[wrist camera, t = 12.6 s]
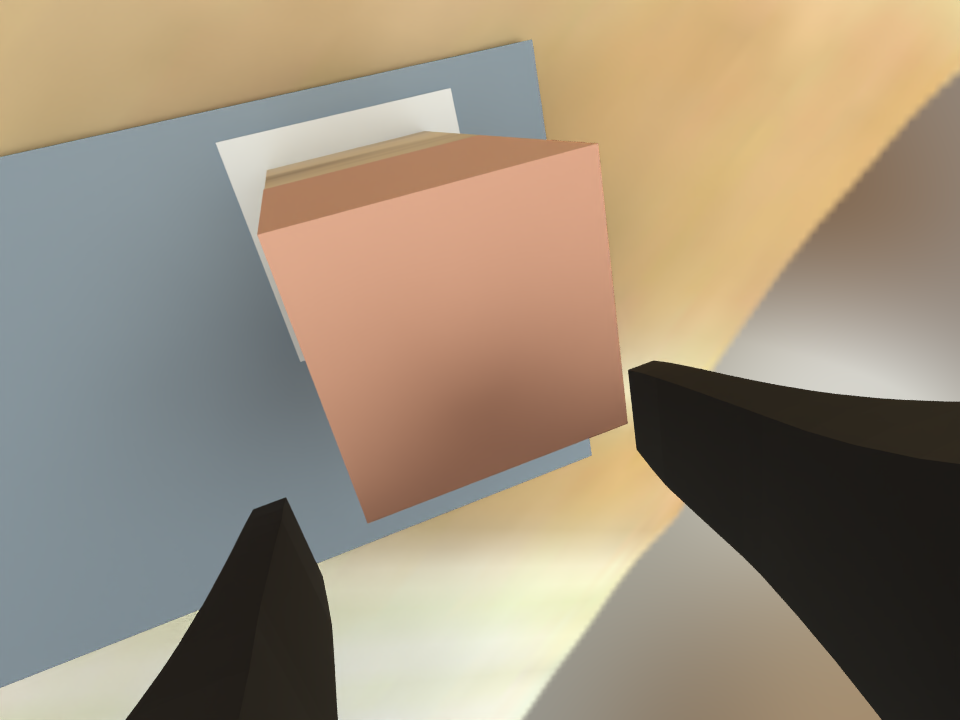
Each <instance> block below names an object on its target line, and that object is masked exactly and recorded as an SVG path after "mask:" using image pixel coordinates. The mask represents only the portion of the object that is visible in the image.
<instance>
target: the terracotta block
mask: <svg viewBox="0 0 960 720" xmlns="http://www.w3.org/2000/svg"><path fill="white" fill-rule="evenodd" d="M257 236H258V238H259V241H260V244H261V246H262V249H263V251H264V254H265V257H266V259H267V262H268V264H269V267H270V270H271V272H272V275H273V278H274V280H275V283H276V285H277V288H278V291H279V293H280V296H281V298H282V301H283V304H284V306H285V309H286V311H287V314H288V317H289V319H290V322H291V325H292V327H293V330H294V332H295V335H296V338H297V340H298V343H299V345H300V348H301V351H302V353H303V356H304V359H305V361H306V364H307V366H308V369H309V372H310V374H311V377H312V379H313V382H314V385H315V387H316V390H317V393H318V395H319V398H320V400H321V403H322V406H323V408H324V411H325V413H326V416H327V419H328V421H329V424H330V427H331V429H332V432H333V434H334V437H335V440H336V442H337V445H338V447H339V450H340V453H341V455H342V458H343V460H344V463H345V466H346V468H347V471H348V474H349V476H350V479H351V481H352V484H353V487H354V489H355V492H356V494H357V497H358V500H359V502H360V505H361V508H362V510H363V513H364V515H365V518H366V521H367V523H371V522H373V521H376V520H379V519H381V518H384V517H386V516H389V515H392V514H394V513H397V512H399V511H402V510H404V509H407V508H410V507H412V506H415V505H417V504H420V503H423V502H425V501H428V500H430V499H433V498H436V497H438V496H441V495H443V494H446V493H449V492H451V491H454V490H456V489H459V488H462V487H464V486H467V485H469V484H472V483H475V482H477V481H480V480H482V479H485V478H487V477H490V476H493V475H495V474H498V473H500V472H503V471H506V470H508V469H511V468H513V467H516V466H519V465H521V464H524V463H526V462H529V461H532V460H534V459H537V458H539V457H542V456H545V455H547V454H550V453H552V452H555V451H558V450H560V449H563V448H565V447H568V446H571V445H573V444H576V443H578V442H581V441H583V440H586V439H589V438H591V437H594V436H596V435H599V434H602V433H604V432H607V431H609V430H612V429H615V428H617V427H620V426H622V425H625V424H628V422H627V413H626V403H625V394H624V384H623V375H622V365H621V356H620V346H619V337H618V327H617V318H616V309H615V299H614V290H613V280H612V271H611V261H610V252H609V242H608V233H607V223H606V214H605V204H604V195H603V185H602V176H601V166H600V157H599V147H598V143H585V142H571V141H557V140H543V139H529V138H515V137H501V136H487V135H477V136H473V137H469V138H465V139H461V140H457V141H453V142H450V143H446V144H442V145H438V146H434V147H430V148H426V149H422V150H418V151H414V152H410V153H406V154H402V155H398V156H394V157H390V158H386V159H382V160H378V161H374V162H370V163H366V164H363V165H359V166H355V167H351V168H347V169H343V170H339V171H335V172H331V173H327V174H323V175H319V176H315V177H311V178H307V179H303V180H299V181H295V182H291V183H287V184H283V185H280V186H276V187H272V188H268V189H264V190H263V197H262V204H261V211H260V218H259V225H258V233H257Z"/></svg>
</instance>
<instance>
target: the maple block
mask: <svg viewBox="0 0 960 720" xmlns="http://www.w3.org/2000/svg"><path fill="white" fill-rule="evenodd" d="M473 136H477V135H473V134H459V133H445V132H431V131H423V132H419V133H415V134H411V135H407V136H403V137H399V138H395V139H391V140H387V141H383V142H379V143H375V144H370V145H366V146H362V147H358V148H354V149H350V150H346V151H342V152H338V153H334V154H330V155H326V156H322V157H318V158H314V159H310V160H306V161H302V162H298V163H294V164H290V165H286V166H282V167H278V168H274V169H270V170H267V173H266V181H265V189H268V188H272V187H276V186H280V185H283V184H287V183H291V182H295V181H299V180H303V179H307V178H311V177H315V176H319V175H323V174H327V173H331V172H335V171H339V170H343V169H347V168H351V167H355V166H359V165H363V164H366V163H370V162H374V161H378V160H382V159H386V158H390V157H394V156H398V155H402V154H406V153H410V152H414V151H418V150H422V149H426V148H430V147H434V146H438V145H442V144H446V143H450V142H453V141H457V140H461V139H465V138H469V137H473Z"/></svg>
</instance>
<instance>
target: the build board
mask: <svg viewBox="0 0 960 720" xmlns="http://www.w3.org/2000/svg"><path fill="white" fill-rule="evenodd" d="M423 131H431V132H445V133H459V134H473V135H487V136H501V137H515V138H529V139H543V140H546V133H545V126H544V119H543V112H542V105H541V98H540V91H539V84H538V78H537V71H536V64H535V57H534V50H533V43H532V40H528V41H523V42H519V43H514V44H510V45H505V46H501V47H496V48H491V49H487V50H482V51H478V52H473V53H469V54H464V55H460V56H455V57H451V58H446V59H442V60H437V61H433V62H428V63H424V64H419V65H415V66H410V67H406V68H401V69H397V70H392V71H387V72H383V73H378V74H374V75H369V76H365V77H360V78H356V79H351V80H347V81H342V82H338V83H333V84H329V85H324V86H320V87H315V88H311V89H306V90H302V91H297V92H293V93H288V94H283V95H279V96H274V97H270V98H265V99H261V100H256V101H252V102H247V103H243V104H238V105H234V106H229V107H225V108H220V109H216V110H211V111H207V112H202V113H198V114H193V115H189V116H184V117H179V118H175V119H170V120H166V121H161V122H157V123H152V124H148V125H143V126H139V127H134V128H130V129H125V130H121V131H116V132H112V133H107V134H103V135H98V136H94V137H89V138H85V139H80V140H75V141H71V142H66V143H62V144H57V145H53V146H48V147H44V148H39V149H35V150H30V151H26V152H21V153H17V154H12V155H8V156H3V157H0V688H1V687H4V686H6V685H9V684H11V683H14V682H16V681H19V680H22V679H24V678H27V677H29V676H32V675H34V674H37V673H39V672H42V671H44V670H47V669H50V668H52V667H55V666H57V665H60V664H62V663H65V662H67V661H70V660H72V659H75V658H78V657H80V656H83V655H85V654H88V653H90V652H93V651H95V650H98V649H100V648H103V647H105V646H108V645H111V644H113V643H116V642H118V641H121V640H123V639H126V638H128V637H131V636H133V635H136V634H139V633H141V632H144V631H146V630H149V629H151V628H154V627H156V626H159V625H161V624H164V623H167V622H169V621H172V620H174V619H177V618H179V617H182V616H184V615H187V614H189V613H192V612H195V611H197V610H200V608H201V607H202V605H203V603H204V602H205V600H206V598H207V596H208V594H209V592H210V591H211V589H212V587H213V585H214V583H215V581H216V579H217V578H218V576H219V574H220V572H221V570H222V568H223V566H224V565H225V563H226V561H227V559H228V557H229V555H230V553H231V551H232V549H233V547H234V545H235V543H236V541H237V539H238V537H239V535H240V533H241V531H242V529H243V527H244V525H245V523H246V521H247V520H248V518H249V516H250V514H251V512H252V510H253V509H255V508H258V507H261V506H263V505H266V504H269V503H271V502H274V501H277V500H280V499H282V498H285V497H286V498H287V500H288V502H289V504H290V506H291V509H292V511H293V513H294V515H295V517H296V520H297V522H298V524H299V526H300V528H301V530H302V533H303V535H304V537H305V539H306V541H307V543H308V546H309V548H310V550H311V552H312V554H313V556H314V559H315V561H316V563H319V562H322V561H324V560H327V559H329V558H332V557H334V556H337V555H340V554H342V553H345V552H347V551H350V550H352V549H355V548H357V547H360V546H362V545H365V544H368V543H370V542H373V541H375V540H378V539H380V538H383V537H385V536H388V535H390V534H393V533H396V532H398V531H401V530H403V529H406V528H408V527H411V526H413V525H416V524H418V523H421V522H424V521H426V520H429V519H431V518H434V517H436V516H439V515H441V514H444V513H446V512H449V511H452V510H454V509H457V508H459V507H462V506H464V505H467V504H469V503H472V502H474V501H477V500H480V499H482V498H485V497H487V496H490V495H492V494H495V493H497V492H500V491H502V490H505V489H508V488H510V487H513V486H515V485H518V484H520V483H523V482H525V481H528V480H530V479H533V478H536V477H538V476H541V475H543V474H546V473H548V472H551V471H553V470H556V469H558V468H561V467H564V466H566V465H569V464H571V463H574V462H576V461H579V460H581V459H584V458H586V457H589V456H591V455H592V454H591V447H590V440H589V439H586V440H583V441H581V442H578V443H576V444H573V445H571V446H568V447H565V448H563V449H560V450H558V451H555V452H552V453H550V454H547V455H545V456H542V457H539V458H537V459H534V460H532V461H529V462H526V463H524V464H521V465H519V466H516V467H513V468H511V469H508V470H506V471H503V472H500V473H498V474H495V475H493V476H490V477H487V478H485V479H482V480H480V481H477V482H475V483H472V484H469V485H467V486H464V487H462V488H459V489H456V490H454V491H451V492H449V493H446V494H443V495H441V496H438V497H436V498H433V499H430V500H428V501H425V502H423V503H420V504H417V505H415V506H412V507H410V508H407V509H404V510H402V511H399V512H397V513H394V514H392V515H389V516H386V517H384V518H381V519H379V520H376V521H373V522H371V523H367V521H366V518H365V515H364V513H363V510H362V508H361V505H360V502H359V500H358V497H357V494H356V492H355V489H354V487H353V484H352V481H351V479H350V476H349V474H348V471H347V468H346V466H345V463H344V460H343V458H342V455H341V453H340V450H339V447H338V445H337V442H336V440H335V437H334V434H333V432H332V429H331V427H330V424H329V421H328V419H327V416H326V413H325V411H324V408H323V406H322V403H321V400H320V398H319V395H318V393H317V390H316V387H315V385H314V382H313V379H312V377H311V374H310V372H309V369H308V366H307V364H306V361H305V359H304V356H303V353H302V351H301V348H300V345H299V343H298V340H297V338H296V335H295V332H294V330H293V327H292V325H291V322H290V319H289V317H288V314H287V311H286V309H285V306H284V304H283V301H282V298H281V296H280V293H279V291H278V288H277V285H276V283H275V280H274V278H273V275H272V272H271V270H270V267H269V264H268V262H267V259H266V257H265V254H264V251H263V249H262V246H261V244H260V241H259V238H258V236H257V233H258V225H259V218H260V211H261V204H262V197H263V190H264V189H265V181H266V173H267V170H270V169H274V168H278V167H282V166H286V165H290V164H294V163H298V162H302V161H306V160H310V159H314V158H318V157H322V156H326V155H330V154H334V153H338V152H342V151H346V150H350V149H354V148H358V147H362V146H366V145H370V144H375V143H379V142H383V141H387V140H391V139H395V138H399V137H403V136H407V135H411V134H415V133H419V132H423Z"/></svg>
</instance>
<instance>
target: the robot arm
mask: <svg viewBox="0 0 960 720" xmlns="http://www.w3.org/2000/svg"><path fill="white" fill-rule="evenodd" d="M628 374H629V383H630V393H631V402H632V411H633V420H634V430H635V439H636V448H637V450H638V452H639V453H640V454H641V456H642V457H643V458H644V459H645V461H646V462H647V463H648V465H649V466H650V467H651V468H652V470H653V471H654V472H655V473H656V474H657V475H658V477H659V478H660V479H661V480H662V481H663V483H664V484H665V485H666V486H667V487H668V488H669V489H670V490H671V491H672V492H673V493H675V494H676V495H677V496H678V497H679V498H680V499H681V500H682V501H683V502H684V503H685V504H686V505H687V506H688V507H689V508H690V509H692V510H693V511H694V512H695V513H696V514H697V515H698V516H699V517H700V518H701V519H702V520H704V521H705V522H706V523H707V524H708V525H709V526H710V527H711V528H712V529H713V530H714V531H715V532H717V533H718V534H719V535H720V536H721V537H722V538H723V539H724V540H725V541H726V542H727V543H729V544H730V545H731V546H732V547H733V548H734V549H735V550H736V551H737V552H738V553H740V555H742V556H743V557H744V558H745V559H746V560H747V561H748V562H749V563H750V564H751V565H752V566H753V567H754V568H755V569H756V570H757V571H758V572H759V573H760V574H761V575H762V576H763V577H764V578H765V580H766V581H767V582H768V583H769V584H770V585H771V586H772V588H773V589H774V590H775V591H776V592H777V593H778V594H779V595H780V596H781V598H782V599H783V600H784V601H785V602H786V603H787V604H788V606H789V607H790V608H791V609H792V610H793V611H794V612H795V613H796V614H797V616H798V617H799V618H800V619H801V620H802V622H803V623H804V624H805V625H806V626H807V628H808V629H809V630H810V631H811V632H812V634H813V635H814V636H815V637H816V638H817V639H818V641H819V642H820V643H821V644H822V645H823V647H824V648H825V649H826V650H827V651H828V653H829V654H830V655H831V656H832V657H833V659H834V660H835V661H836V662H837V663H838V665H839V666H840V667H841V669H842V670H843V671H844V672H845V674H846V675H847V676H848V677H849V679H850V680H851V681H852V683H853V684H854V685H855V686H856V687H857V689H858V690H859V691H860V693H861V694H862V695H863V696H864V697H865V699H866V700H867V701H868V703H869V704H870V705H871V706H872V708H873V709H874V710H875V712H876V713H877V714H878V715H879V717H880V718H881V719H882V720H960V402H943V401H916V400H895V399H880V398H870V397H860V396H851V395H840V394H832V393H824V392H817V391H810V390H804V389H798V388H792V387H786V386H780V385H775V384H770V383H764V382H759V381H754V380H749V379H744V378H740V377H734V376H730V375H725V374H721V373H716V372H712V371H707V370H703V369H698V368H693V367H689V366H684V365H679V364H673V363H667V362H660V361H651V362H648V363H646V364H643V365H640V366H638V367H635V368H632V369H630V370H628ZM126 720H338V717H337V699H336V682H335V664H334V648H333V633H332V623H331V617H330V612H329V606H328V601H327V596H326V591H325V585H324V580H323V576H322V574H321V572H320V570H319V567H318V565H317V563H316V561H315V559H314V556H313V554H312V552H311V550H310V548H309V546H308V543H307V541H306V539H305V537H304V535H303V533H302V530H301V528H300V526H299V524H298V522H297V520H296V517H295V515H294V513H293V511H292V509H291V506H290V504H289V502H288V500H287V498H286V497H285V498H282V499H280V500H277V501H274V502H271V503H269V504H266V505H263V506H261V507H258V508H255V509H253V510H252V512H251V514H250V516H249V518H248V520H247V521H246V523H245V525H244V527H243V529H242V531H241V533H240V535H239V537H238V539H237V541H236V543H235V545H234V547H233V549H232V551H231V553H230V555H229V557H228V559H227V561H226V563H225V565H224V566H223V568H222V570H221V572H220V574H219V576H218V578H217V579H216V581H215V583H214V585H213V587H212V589H211V591H210V592H209V594H208V596H207V598H206V600H205V602H204V603H203V605H202V607H201V608H200V610H199V612H198V613H197V615H196V617H195V618H194V620H193V622H192V623H191V625H190V627H189V628H188V630H187V632H186V633H185V635H184V637H183V638H182V640H181V642H180V643H179V645H178V646H177V648H176V649H175V651H174V652H173V654H172V656H171V657H170V659H169V660H168V662H167V663H166V664H165V666H164V667H163V669H162V670H161V672H160V673H159V675H158V676H157V678H156V679H155V680H154V682H153V683H152V684H151V686H150V687H149V689H148V690H147V691H146V693H145V694H144V695H143V697H142V698H141V700H140V701H139V702H138V704H137V705H136V706H135V708H134V709H133V710H132V712H131V713H130V714H129V716H128V717H127V718H126Z"/></svg>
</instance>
